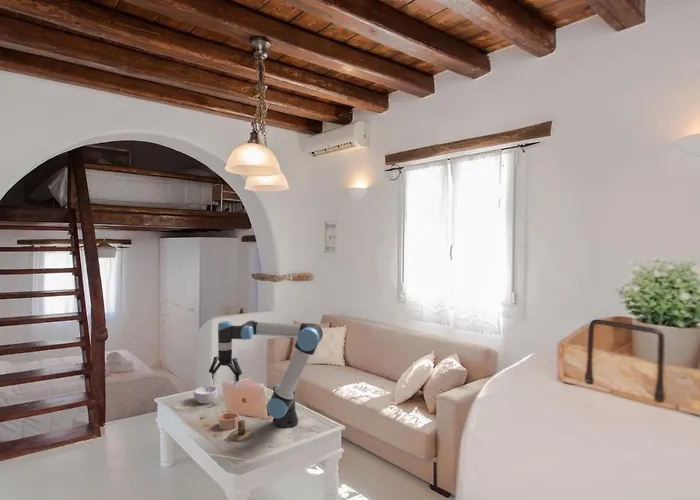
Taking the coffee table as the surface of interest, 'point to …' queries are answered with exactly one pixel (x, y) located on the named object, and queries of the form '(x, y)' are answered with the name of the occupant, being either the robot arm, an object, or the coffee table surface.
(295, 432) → the coffee table surface
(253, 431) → the mat
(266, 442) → the coffee table surface
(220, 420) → the bowl
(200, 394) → the paper bowls
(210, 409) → the coffee table surface
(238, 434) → the lid
